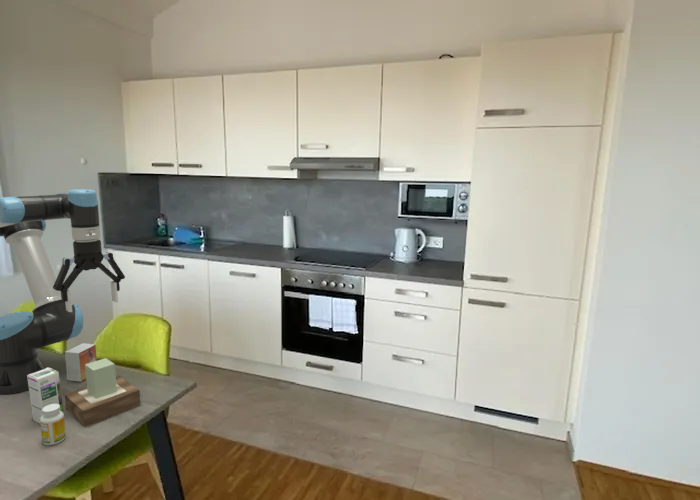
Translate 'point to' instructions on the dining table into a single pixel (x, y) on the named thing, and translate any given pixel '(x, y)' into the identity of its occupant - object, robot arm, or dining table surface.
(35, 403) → the syrup box
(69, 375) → the small box
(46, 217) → the robot arm
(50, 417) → the supplement bottle
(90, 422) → the walnut base
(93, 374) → the sage block
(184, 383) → the dining table surface
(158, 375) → the dining table surface
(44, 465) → the dining table surface
